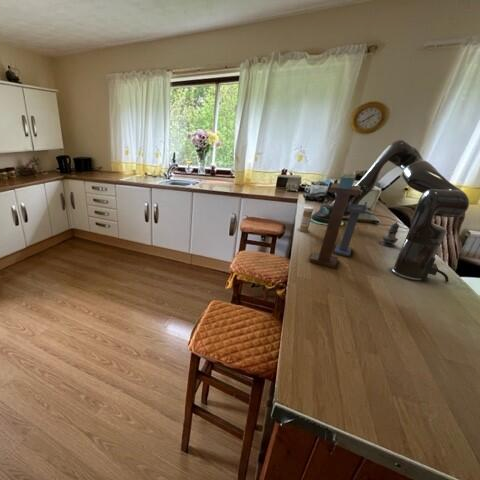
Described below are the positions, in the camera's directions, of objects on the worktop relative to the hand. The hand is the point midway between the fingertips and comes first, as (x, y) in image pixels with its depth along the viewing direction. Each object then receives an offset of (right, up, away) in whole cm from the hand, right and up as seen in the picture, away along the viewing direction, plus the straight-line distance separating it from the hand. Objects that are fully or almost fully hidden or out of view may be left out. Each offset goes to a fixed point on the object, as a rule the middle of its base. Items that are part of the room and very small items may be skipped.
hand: (348, 182), depth 107 cm
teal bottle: (-6, -3, -7) cm, 10 cm away
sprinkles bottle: (+2, -19, +36) cm, 41 cm away
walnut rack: (-9, -33, +2) cm, 35 cm away
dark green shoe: (+25, -12, +54) cm, 60 cm away
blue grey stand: (+6, -29, +11) cm, 32 cm away
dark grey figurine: (+34, -27, +19) cm, 47 cm away
